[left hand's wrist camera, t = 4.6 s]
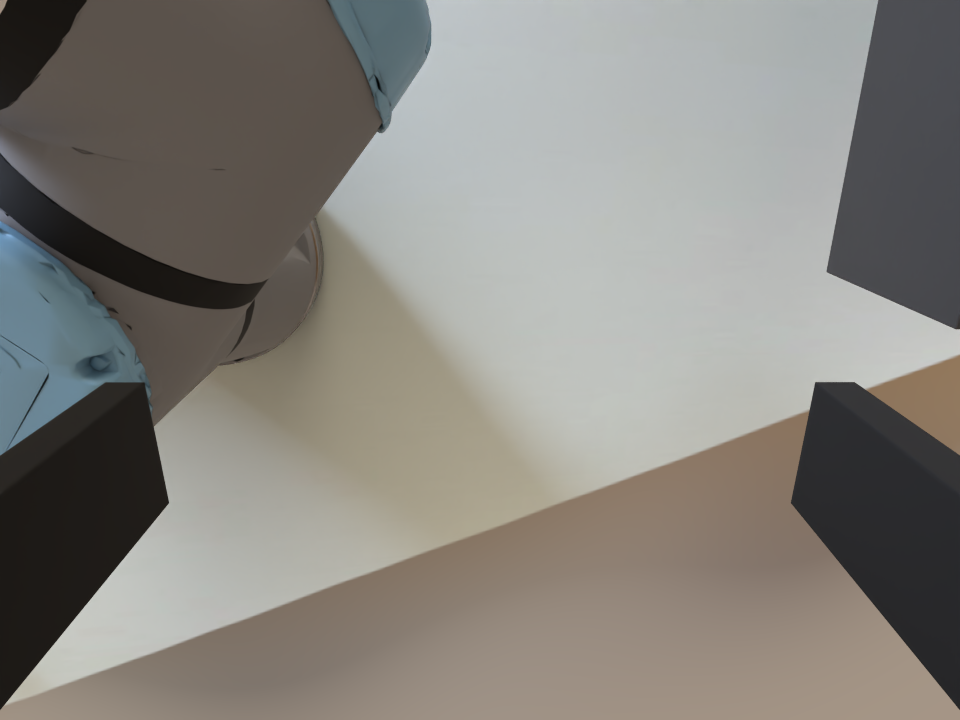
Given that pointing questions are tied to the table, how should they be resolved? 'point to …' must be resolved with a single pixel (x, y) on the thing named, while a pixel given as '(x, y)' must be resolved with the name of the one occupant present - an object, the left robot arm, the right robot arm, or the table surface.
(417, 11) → the left robot arm
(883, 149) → the box
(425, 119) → the table surface
